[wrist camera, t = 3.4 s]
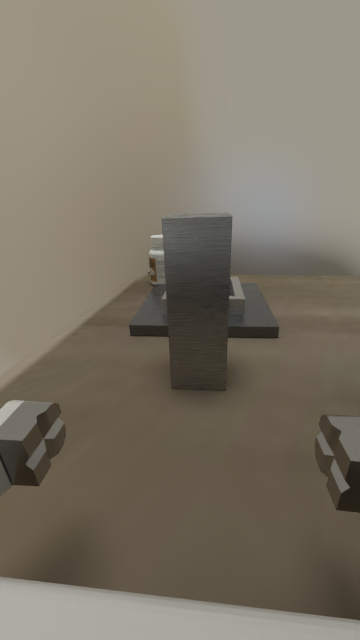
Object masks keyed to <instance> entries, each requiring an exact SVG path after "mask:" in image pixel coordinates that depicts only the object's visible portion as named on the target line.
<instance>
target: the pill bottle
mask: <svg viewBox="0 0 360 640" xmlns="http://www.w3.org/2000/svg"><path fill="white" fill-rule="evenodd" d="M151 244H152V245H151V246H153V249H152V250H150V252H149V261H150V262H149V263H150V275H151V283H152V284H153V285H155V284H166V283H165V266H164V249H163V235H154V236H151Z"/></svg>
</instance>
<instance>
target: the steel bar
mask: <svg viewBox="0 0 360 640" xmlns="http://www.w3.org/2000/svg"><path fill="white" fill-rule="evenodd" d="M162 231H163V249H164V266H165V283H166V300H167V317H168V334H169V351H170V368H171V385H172V389H197V390H224V391H226V369H227V343H228V316H229V290H230V262H231V237H232V216H231V215H230V214H229V213H207V214H206V213H205V214H176V215H169V216H167V217H164V218H162Z"/></svg>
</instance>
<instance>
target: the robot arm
mask: <svg viewBox="0 0 360 640" xmlns="http://www.w3.org/2000/svg"><path fill="white" fill-rule="evenodd" d="M60 414H61V410H60V407H59V404H57V403H51V402H37V401H18V400H12V401H9V402H7V403H6V404H5V405H4V406H3V407H2V408H1V409H0V496H1V495H2V494H3V493H5V492H6V491H7V490H8V489H10V488H11V487H12V485H23V486H39V485H40V484H41V482H42V480H43V479H44V477H45V475H46V474H47V472H48V470H49V469H50V467H51V462H50V459H52V458H53V457H54V456H56V455H57V454H59V452H60V450H61V448H62V447H63V444H64V441H65V437H66V428H65V424H64V422H63V421H62V420H60V419H59V418H58V417H59V416H60ZM319 426H320V429H321V431H322V432H321V433H320V434H319V435H317V436H316V441H315V455H316V459H317V463H318V466H319V468H320V471H321V472H322V473H323V474H325V475H326V476H327V477H328V481H327V485H326V486H327V489H328V491H329V494H330V496H331V499H332V501H333V503H334V506H335V508H336V510H339V511H349V512H358V513H360V416H350V415H322V416H321V418H320V422H319ZM0 640H360V620H353V619H345V618H337V617H329V616H321V615H312V614H304V613H296V612H288V611H280V610H271V609H263V608H255V607H247V606H238V605H230V604H222V603H214V602H206V601H197V600H189V599H181V598H173V597H165V596H156V595H148V594H140V593H132V592H124V591H115V590H107V589H99V588H91V587H82V586H74V585H66V584H58V583H49V582H41V581H33V580H25V579H16V578H8V577H0Z"/></svg>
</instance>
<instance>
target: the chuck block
mask: <svg viewBox="0 0 360 640" xmlns="http://www.w3.org/2000/svg"><path fill="white" fill-rule="evenodd" d="M129 327H130V335H131V336H169V334H168V317H167V300H166V284H155V286H154V287H153V289H152V291H151V292H150V294H149V295H148V297H147V298H146V300H145V301H144V303H143V305H142V306H141V308H140V309H139V311H138V312H137V314H136V315H135V317H134V319H133V320H132V322H131V323H130V325H129ZM278 332H279V326H278V324H277V322H276V320H275V318H274V316H273V314H272V312H271V310H270V309H269V307H268V305H267V303H266V301H265V299H264V297H263V295H262V293H261V291H260V289H259V287H258V286H257V284H256V283H240V282H239V279H238V277H230V290H229V316H228V337H257V338H278Z"/></svg>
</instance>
